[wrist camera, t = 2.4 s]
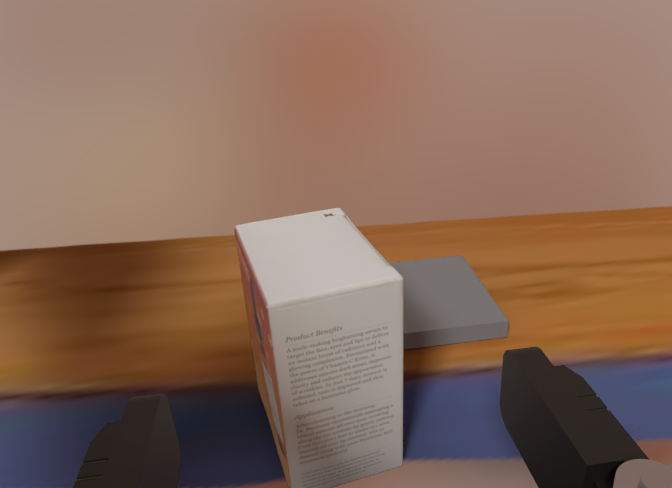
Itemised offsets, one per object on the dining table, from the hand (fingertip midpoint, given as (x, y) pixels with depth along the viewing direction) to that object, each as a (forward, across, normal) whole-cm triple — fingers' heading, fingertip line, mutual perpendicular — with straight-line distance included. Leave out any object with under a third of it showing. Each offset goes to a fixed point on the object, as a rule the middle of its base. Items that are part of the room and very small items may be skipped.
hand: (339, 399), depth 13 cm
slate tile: (+22, -5, +12) cm, 25 cm away
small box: (+12, 0, +12) cm, 17 cm away
